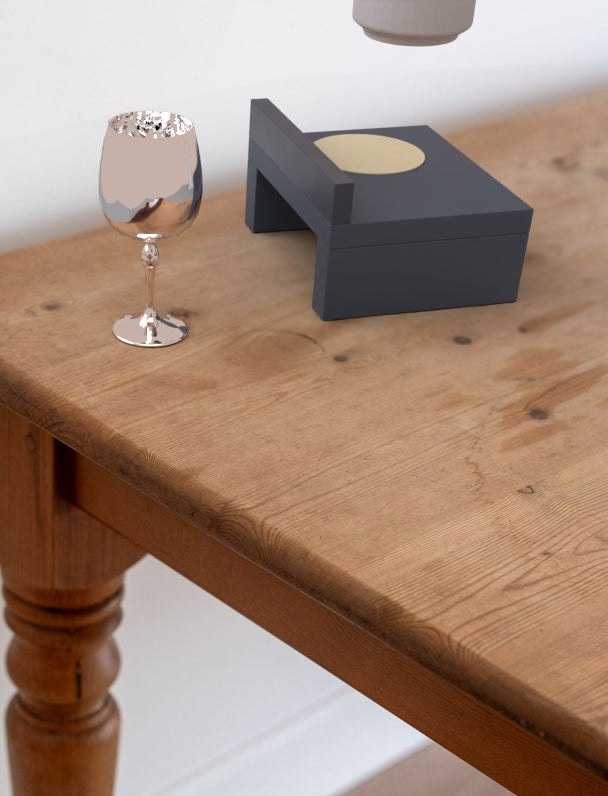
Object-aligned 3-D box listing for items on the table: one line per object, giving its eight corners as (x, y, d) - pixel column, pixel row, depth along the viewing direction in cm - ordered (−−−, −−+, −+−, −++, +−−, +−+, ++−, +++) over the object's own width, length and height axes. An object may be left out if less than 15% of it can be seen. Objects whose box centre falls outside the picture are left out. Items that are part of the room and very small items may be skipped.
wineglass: (214, 321, 78) (221, 118, 71) (172, 360, 74) (175, 148, 67) (129, 301, 80) (128, 101, 73) (83, 338, 76) (77, 130, 68)
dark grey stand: (416, 208, 94) (432, 88, 89) (516, 302, 82) (541, 169, 76) (244, 222, 91) (250, 98, 86) (322, 321, 79) (335, 184, 73)
